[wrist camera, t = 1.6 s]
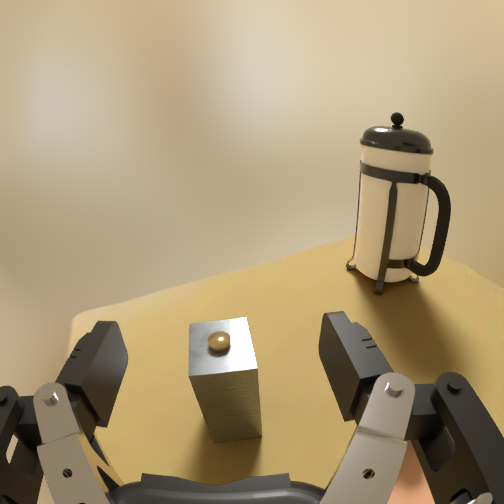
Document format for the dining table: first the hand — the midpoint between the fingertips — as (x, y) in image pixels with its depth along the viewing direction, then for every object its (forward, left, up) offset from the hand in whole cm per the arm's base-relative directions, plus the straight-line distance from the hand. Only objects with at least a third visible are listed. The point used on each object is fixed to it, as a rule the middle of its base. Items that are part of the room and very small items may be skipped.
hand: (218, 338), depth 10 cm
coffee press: (-19, -39, -21) cm, 48 cm away
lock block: (+3, -8, -21) cm, 22 cm away
